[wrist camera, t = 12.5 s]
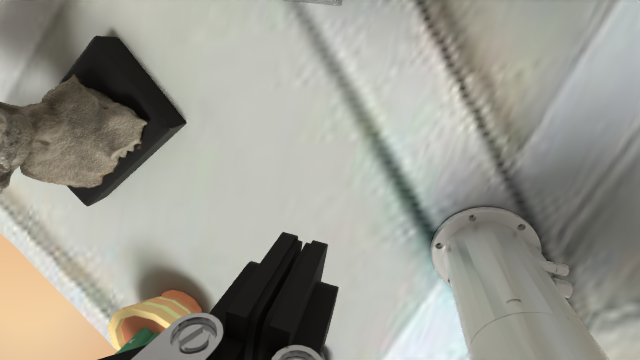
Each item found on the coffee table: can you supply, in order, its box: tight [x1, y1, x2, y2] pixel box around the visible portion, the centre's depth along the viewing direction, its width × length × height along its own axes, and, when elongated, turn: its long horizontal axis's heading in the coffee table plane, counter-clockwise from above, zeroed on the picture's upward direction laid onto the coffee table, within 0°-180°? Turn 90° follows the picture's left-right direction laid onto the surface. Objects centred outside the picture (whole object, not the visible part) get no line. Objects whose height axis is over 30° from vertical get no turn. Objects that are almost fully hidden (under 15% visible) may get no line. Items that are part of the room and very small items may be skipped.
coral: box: [0, 36, 186, 206], centre depth 36 cm, size 25×20×22 cm
